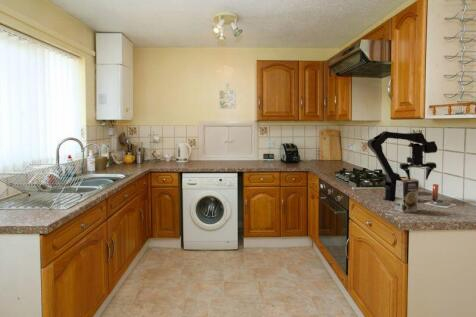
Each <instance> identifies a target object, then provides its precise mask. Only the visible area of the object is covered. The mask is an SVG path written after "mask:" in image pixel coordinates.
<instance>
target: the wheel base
mask: <svg viewBox="0 0 476 317" xmlns="http://www.w3.org/2000/svg"><path fill="white" fill-rule="evenodd" d="M423 204H424V205H427V206H433V207H438V208H442V209H447V208H452V207H455V206H457V204H456V203H451V205H437V204H433V203H430V201H427V202H424V203H423Z"/></svg>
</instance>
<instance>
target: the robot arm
mask: <svg viewBox="0 0 476 317" xmlns="http://www.w3.org/2000/svg"><path fill="white" fill-rule="evenodd" d="M388 139H396V140H405V141H408V142H410V143H409V144H408V145H407V147H409V148H411V157H410V156H407V157H406V162H403V163H402V162H401V163H399V169H400V170H402V171H403V172H405V174H406V178H407V177H408V179H409V180H410V178H411V174H410V168H425V181H427V180H428V179H429V176H430V174H431V172H432V171H433V170H435V169H437V163H436V162H433V161H429V162H426V163H424V154H435V153H437V152H438V146H437V144H436V141H433V140H431V141H428V140H427V139H426V137H425V136H424V134H423V132H407V133H405V132H404V133H403V132H392V131H387V130H385V131H382V132H380V133H379V134H378V135H375V136H374V137H373V138H370V139H369V140H367V143H366V146H367V147H368V148H369V149H370V151H371V152H372V153H373V154H374V155H375V156H376V159H377V160H378V163H379V164H380V166H381V168H382V169H383V171H384V173H385V179H386V181H385V183H384V184H383V188H384V189H385V194H384V195H385V196H384V197H383V198H382V199H383V200H386V201H391V202H395V195H396V180H402V179H401V178H402V177H401V175H400V174H399V173H397V172H394V170H393V168H392V166H391V164H390V163H389V161H388V159H387V157H386V155H385V153H384V152H383V144H384V143H385V142H386V140H388ZM423 153H424V154H423ZM409 163H410V164H409Z"/></svg>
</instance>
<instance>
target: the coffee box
mask: <svg viewBox="0 0 476 317" xmlns="http://www.w3.org/2000/svg"><path fill="white" fill-rule="evenodd" d="M419 184H420V182H419V180H418V181H414V180H396V195H395V201H394V211H396V210H397V212H400V213H402V214H404V213H415V212H416V213H417V212H418V201H419V200H418V199H419Z"/></svg>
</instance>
